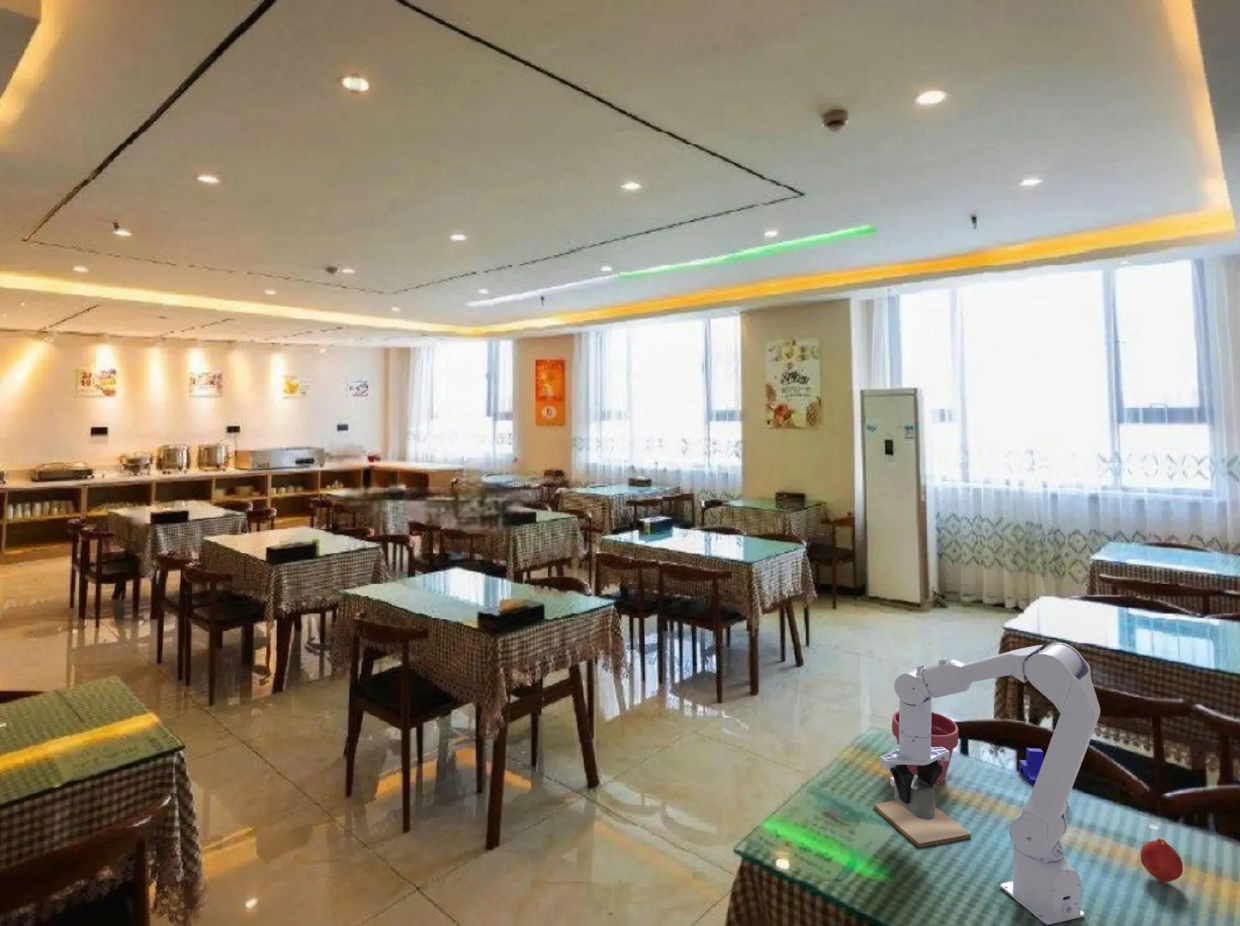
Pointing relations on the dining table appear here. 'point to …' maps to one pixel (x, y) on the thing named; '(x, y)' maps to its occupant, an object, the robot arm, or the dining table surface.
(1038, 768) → the cable clip
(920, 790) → the grey rounded bottle
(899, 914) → the dining table surface
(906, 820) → the walnut pad
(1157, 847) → the onion
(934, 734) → the plant pot
